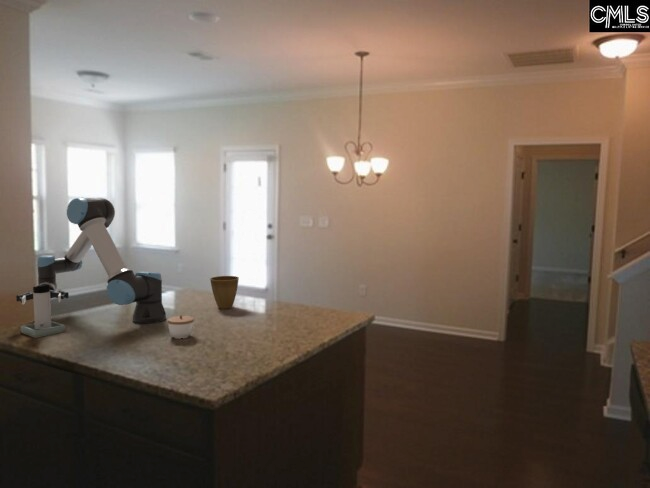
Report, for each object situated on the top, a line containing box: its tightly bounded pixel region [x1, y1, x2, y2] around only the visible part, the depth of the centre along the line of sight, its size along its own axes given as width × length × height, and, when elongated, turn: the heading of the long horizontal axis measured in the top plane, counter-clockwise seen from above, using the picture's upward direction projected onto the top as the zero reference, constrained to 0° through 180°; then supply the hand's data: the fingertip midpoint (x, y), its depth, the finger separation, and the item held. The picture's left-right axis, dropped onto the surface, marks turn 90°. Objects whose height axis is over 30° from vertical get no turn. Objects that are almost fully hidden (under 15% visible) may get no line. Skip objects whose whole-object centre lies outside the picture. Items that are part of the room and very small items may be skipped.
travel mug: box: [32, 284, 52, 330], centre depth 210 cm, size 6×7×20 cm
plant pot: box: [209, 275, 239, 310], centre depth 260 cm, size 15×15×16 cm
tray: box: [20, 320, 66, 339], centre depth 210 cm, size 13×12×3 cm
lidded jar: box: [167, 314, 195, 340], centre depth 206 cm, size 11×11×9 cm
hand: (41, 300), depth 211 cm, fingers open, 13 cm apart
